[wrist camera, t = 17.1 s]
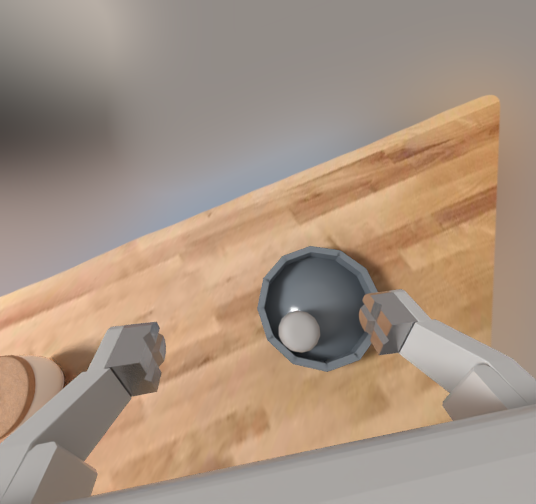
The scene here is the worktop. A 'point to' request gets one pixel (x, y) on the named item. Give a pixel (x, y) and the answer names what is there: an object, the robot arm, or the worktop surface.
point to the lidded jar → (25, 388)
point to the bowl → (318, 304)
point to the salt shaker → (299, 331)
